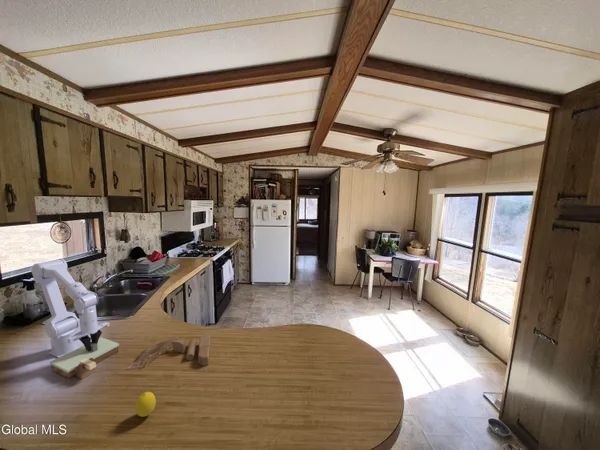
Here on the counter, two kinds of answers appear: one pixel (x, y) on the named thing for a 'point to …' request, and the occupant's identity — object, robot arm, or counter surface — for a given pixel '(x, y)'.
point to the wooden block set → (203, 349)
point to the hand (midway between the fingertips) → (91, 348)
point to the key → (88, 364)
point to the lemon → (145, 404)
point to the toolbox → (82, 371)
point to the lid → (83, 354)
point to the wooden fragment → (152, 353)
